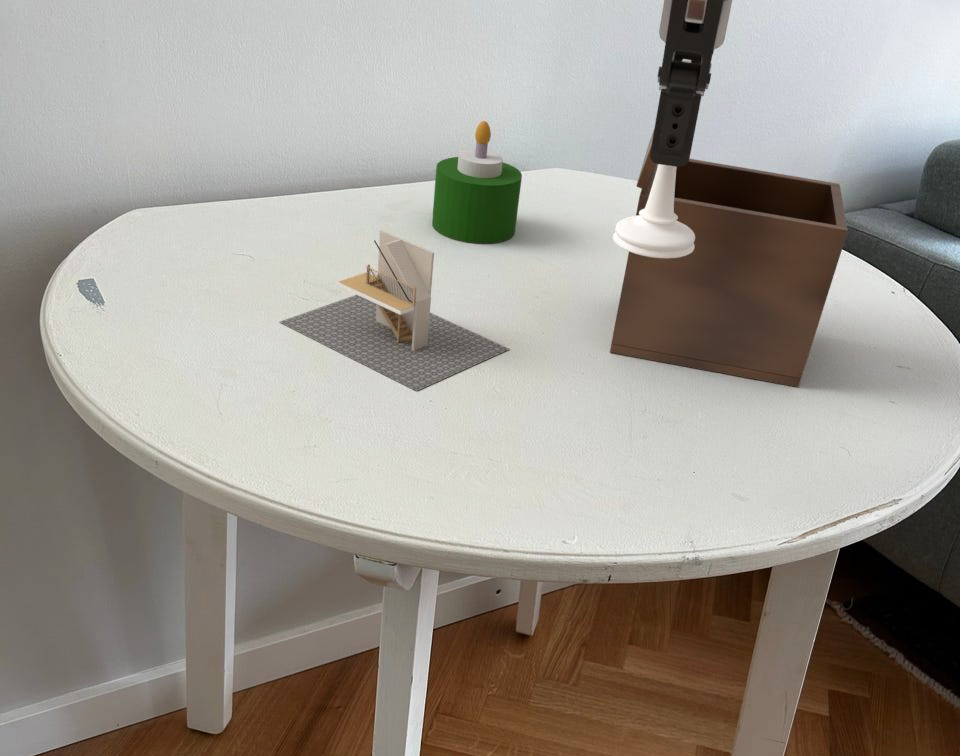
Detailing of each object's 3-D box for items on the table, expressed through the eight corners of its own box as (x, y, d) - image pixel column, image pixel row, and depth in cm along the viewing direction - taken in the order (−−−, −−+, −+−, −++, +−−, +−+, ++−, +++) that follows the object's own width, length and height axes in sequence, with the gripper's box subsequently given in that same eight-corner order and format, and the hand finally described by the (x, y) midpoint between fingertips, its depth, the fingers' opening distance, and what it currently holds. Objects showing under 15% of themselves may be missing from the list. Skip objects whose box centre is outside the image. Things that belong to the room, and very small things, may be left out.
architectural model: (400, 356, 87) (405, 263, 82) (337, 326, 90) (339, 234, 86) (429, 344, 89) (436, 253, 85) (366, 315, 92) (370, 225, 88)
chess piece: (685, 265, 64) (723, 78, 58) (603, 247, 66) (632, 62, 59) (701, 237, 68) (738, 58, 62) (623, 221, 69) (652, 43, 63)
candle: (442, 207, 114) (451, 103, 108) (521, 221, 113) (534, 117, 107) (423, 234, 108) (431, 124, 101) (506, 249, 107) (519, 140, 101)
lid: (740, -76, 82) (730, -80, 82) (737, -54, 73) (726, -59, 73) (657, 147, 92) (648, 144, 92) (646, 190, 83) (635, 186, 83)
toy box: (795, 330, 99) (839, 183, 91) (798, 387, 90) (848, 230, 82) (623, 299, 101) (651, 151, 92) (609, 352, 92) (639, 194, 84)
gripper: (827, -211, 47) (733, 205, 58) (813, -222, 57) (736, 132, 69) (650, -231, 48) (591, 184, 59) (669, -238, 58) (616, 115, 69)
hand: (670, 155), depth 64 cm, fingers closed on chess piece
